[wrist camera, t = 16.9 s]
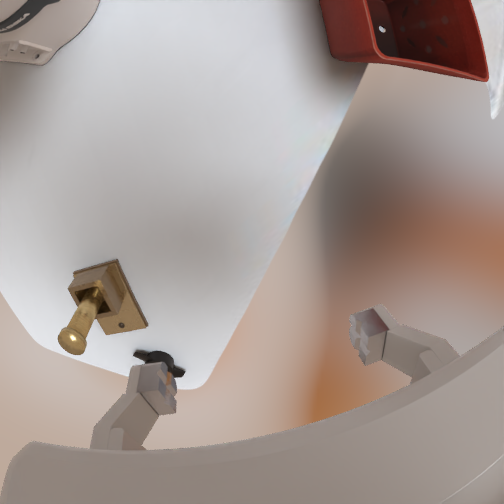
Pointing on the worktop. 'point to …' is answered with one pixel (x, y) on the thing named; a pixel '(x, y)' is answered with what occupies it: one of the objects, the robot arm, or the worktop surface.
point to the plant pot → (408, 35)
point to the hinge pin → (81, 322)
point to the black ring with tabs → (161, 357)
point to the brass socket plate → (109, 297)
